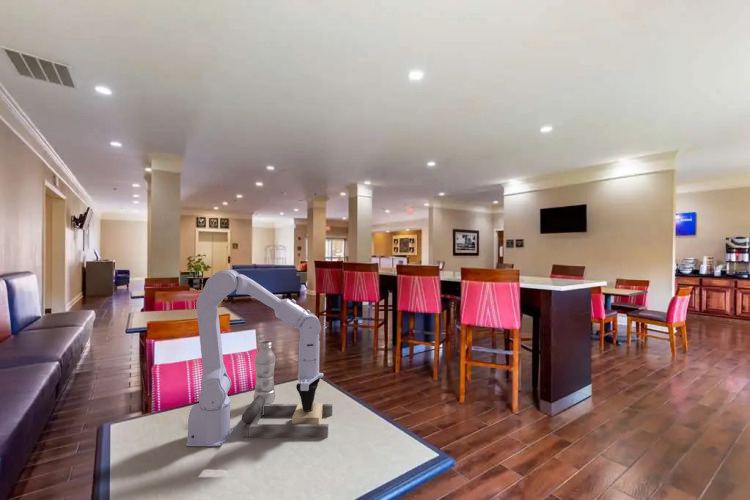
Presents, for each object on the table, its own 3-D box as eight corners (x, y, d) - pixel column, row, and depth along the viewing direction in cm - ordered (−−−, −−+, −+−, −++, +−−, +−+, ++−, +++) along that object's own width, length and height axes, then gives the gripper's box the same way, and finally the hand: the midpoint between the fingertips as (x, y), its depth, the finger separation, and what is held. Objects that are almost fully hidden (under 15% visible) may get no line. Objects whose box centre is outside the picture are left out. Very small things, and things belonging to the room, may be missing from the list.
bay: (238, 442, 89) (239, 414, 89) (255, 417, 103) (256, 393, 103) (329, 442, 90) (329, 414, 90) (333, 417, 104) (334, 393, 104)
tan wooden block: (291, 432, 92) (292, 402, 92) (298, 417, 101) (298, 389, 101) (318, 432, 92) (318, 402, 92) (322, 417, 101) (322, 389, 101)
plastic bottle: (271, 409, 109) (273, 344, 109) (250, 408, 109) (251, 344, 109) (277, 400, 115) (279, 340, 115) (257, 400, 115) (258, 339, 116)
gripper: (320, 366, 90) (319, 419, 89) (326, 351, 104) (325, 396, 104) (292, 366, 90) (291, 419, 89) (302, 351, 104) (301, 396, 104)
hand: (308, 407), depth 97 cm, fingers closed on tan wooden block, 3 cm apart
